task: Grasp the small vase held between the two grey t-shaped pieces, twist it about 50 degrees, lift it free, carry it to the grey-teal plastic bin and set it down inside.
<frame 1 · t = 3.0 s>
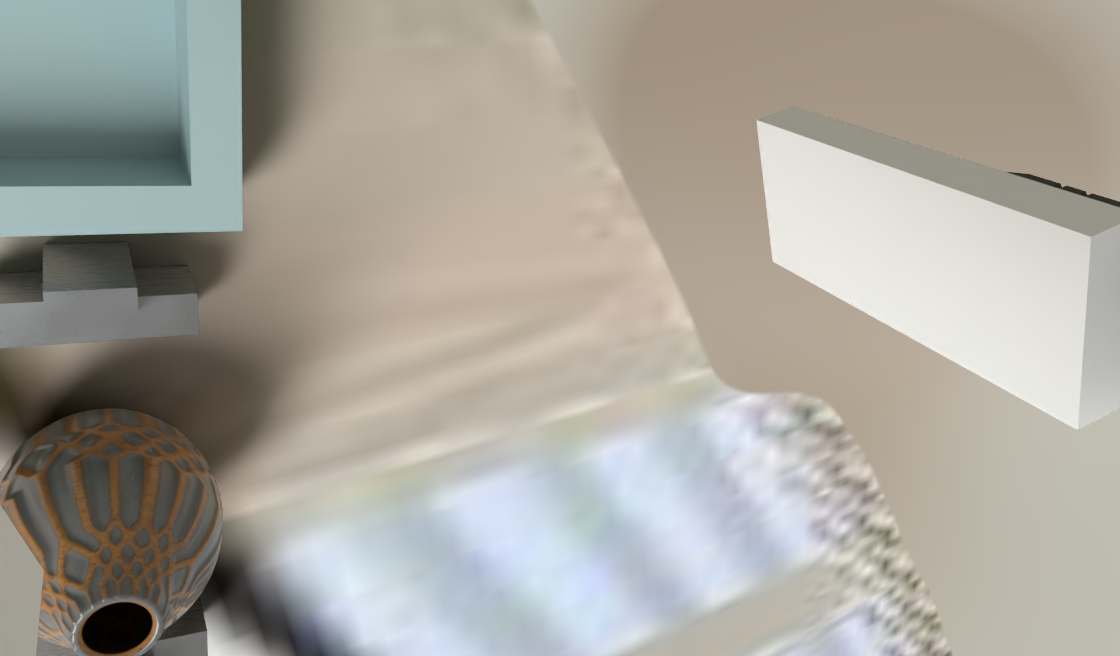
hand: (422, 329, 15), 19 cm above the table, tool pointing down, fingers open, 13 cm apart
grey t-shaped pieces: (102, 467, 33), on the table
vase: (102, 463, 34), on the table
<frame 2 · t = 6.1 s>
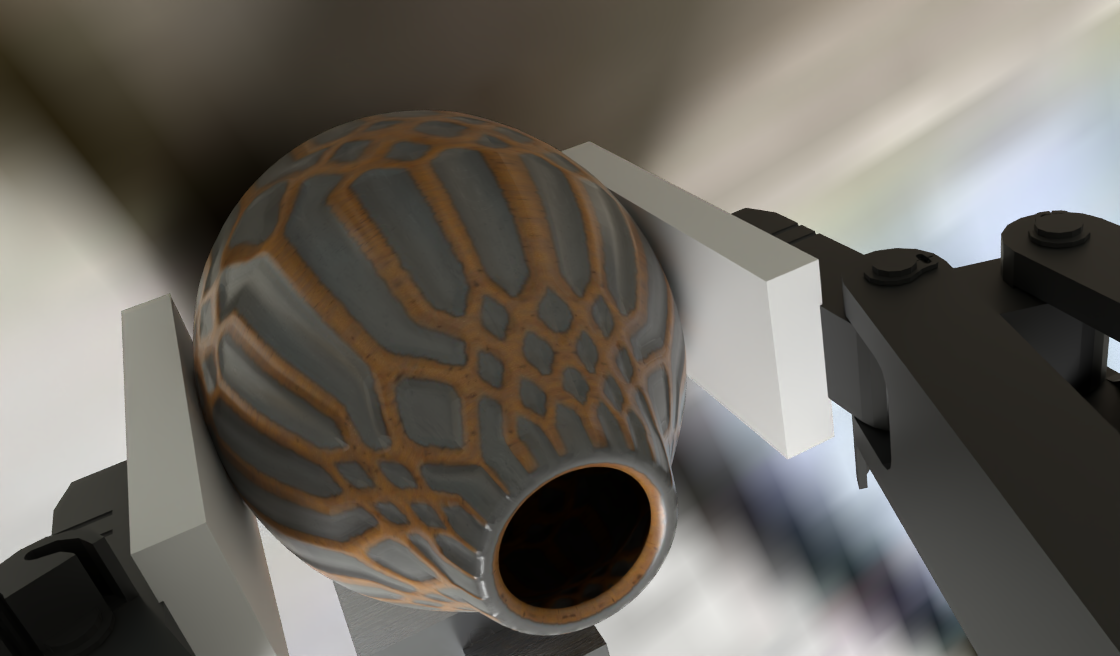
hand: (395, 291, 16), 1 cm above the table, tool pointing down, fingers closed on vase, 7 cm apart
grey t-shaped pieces: (380, 270, 17), on the table
vase: (379, 266, 17), on the table, touching gripper
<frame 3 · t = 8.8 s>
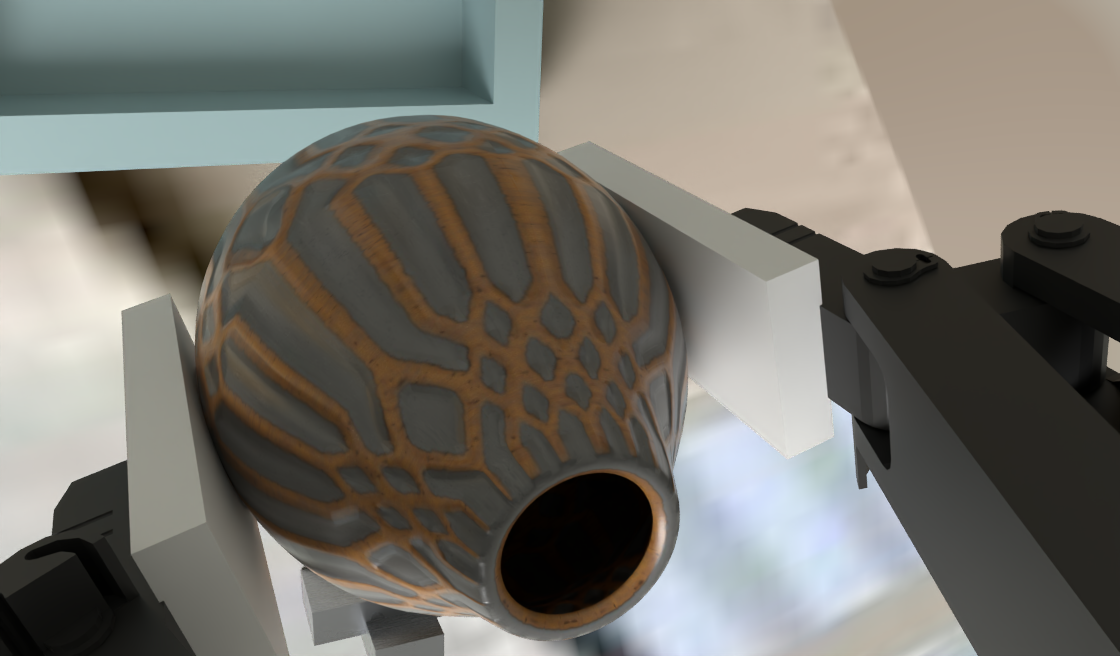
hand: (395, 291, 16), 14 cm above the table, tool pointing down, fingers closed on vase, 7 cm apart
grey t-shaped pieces: (378, 411, 33), on the table
vase: (380, 270, 17), point 13 cm above the table, touching gripper
when the fingers open (3 cm above the table, at t = 11.8 s): vase drops 2 cm, resting on parts bin.
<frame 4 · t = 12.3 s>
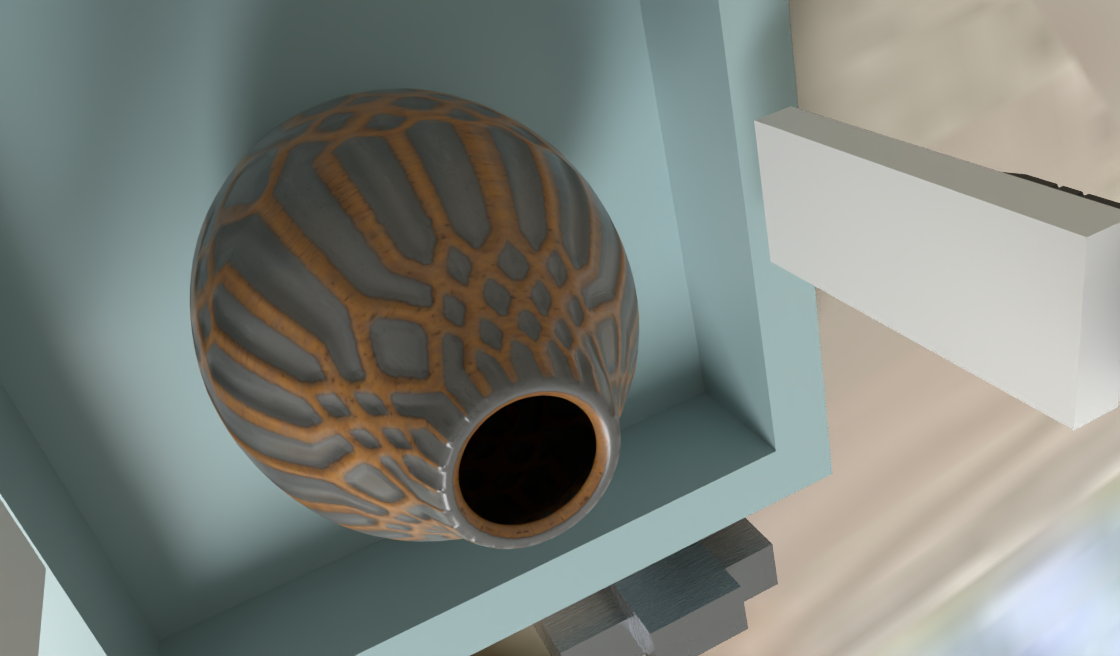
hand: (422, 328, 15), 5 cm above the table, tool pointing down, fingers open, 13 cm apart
parts bin: (354, 235, 19), on the table
vase: (363, 238, 19), resting on parts bin
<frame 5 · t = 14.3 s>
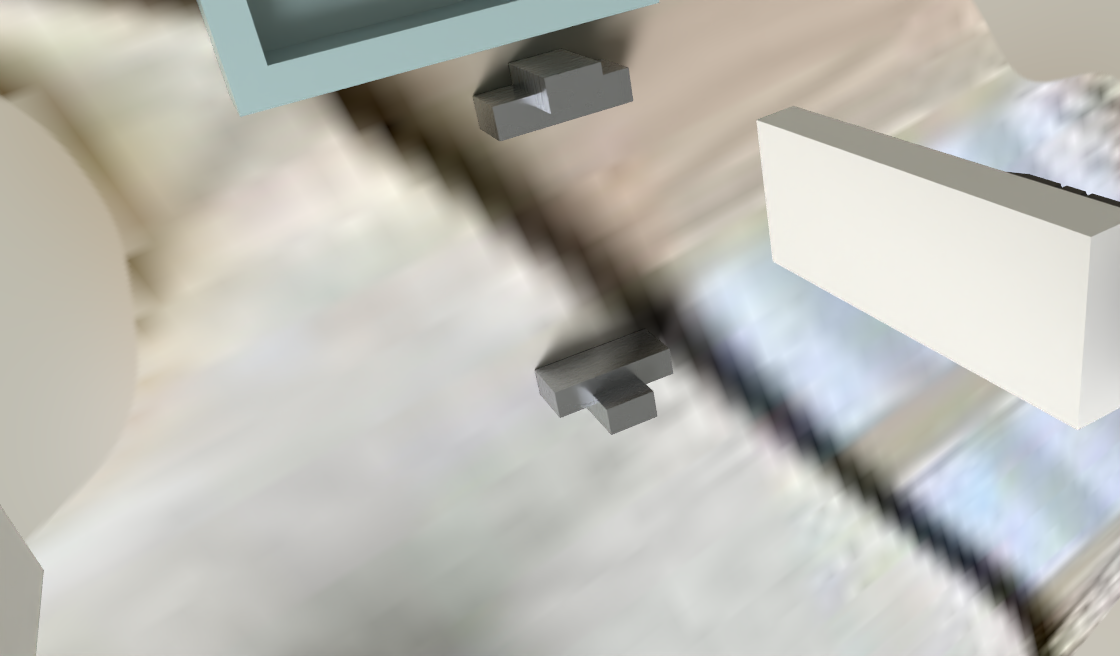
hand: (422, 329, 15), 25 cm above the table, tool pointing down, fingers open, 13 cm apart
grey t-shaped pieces: (569, 237, 44), on the table
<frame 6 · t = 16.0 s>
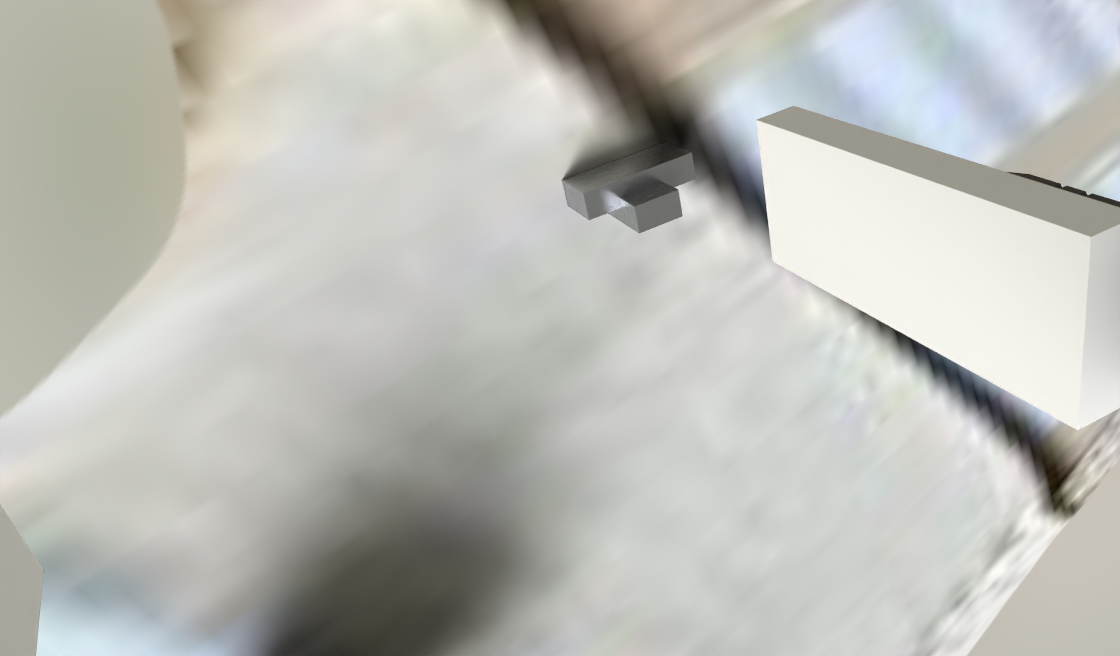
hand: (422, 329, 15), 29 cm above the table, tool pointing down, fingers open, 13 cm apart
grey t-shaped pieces: (591, 42, 45), on the table
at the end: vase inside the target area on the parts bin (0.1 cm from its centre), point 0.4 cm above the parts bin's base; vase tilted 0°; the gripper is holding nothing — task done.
